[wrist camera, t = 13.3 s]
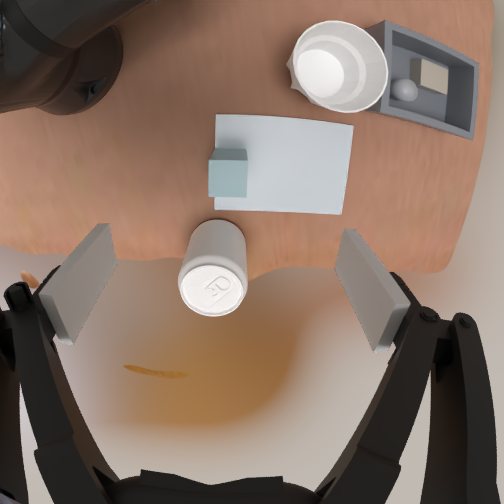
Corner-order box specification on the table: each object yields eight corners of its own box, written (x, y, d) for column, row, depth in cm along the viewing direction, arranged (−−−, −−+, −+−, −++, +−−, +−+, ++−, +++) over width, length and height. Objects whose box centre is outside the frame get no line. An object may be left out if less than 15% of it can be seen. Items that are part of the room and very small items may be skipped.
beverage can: (179, 238, 42) (161, 286, 31) (222, 206, 40) (215, 247, 29) (214, 275, 45) (208, 329, 34) (256, 247, 43) (262, 297, 32)
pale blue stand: (215, 207, 40) (209, 235, 32) (216, 114, 34) (209, 116, 26) (339, 212, 41) (361, 239, 33) (350, 125, 35) (379, 132, 27)
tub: (357, 109, 33) (380, 112, 27) (361, 31, 27) (384, 20, 21) (444, 132, 34) (473, 140, 28) (450, 63, 28) (478, 63, 22)
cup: (263, 79, 31) (272, 70, 23) (308, 26, 28) (330, 3, 19) (325, 124, 34) (352, 132, 26) (366, 72, 31) (403, 67, 22)
